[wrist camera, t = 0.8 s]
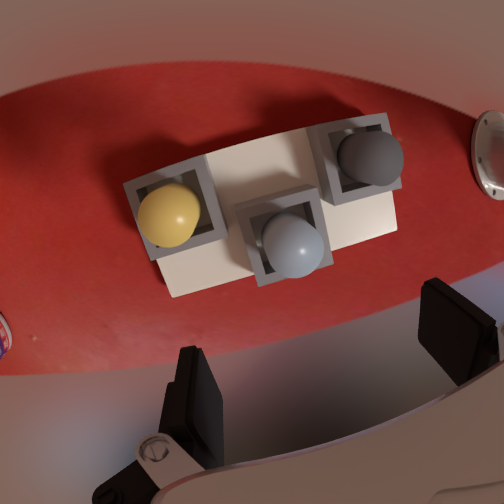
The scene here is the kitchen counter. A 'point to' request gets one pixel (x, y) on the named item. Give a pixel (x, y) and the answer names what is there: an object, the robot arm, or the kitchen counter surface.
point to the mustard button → (169, 214)
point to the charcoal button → (371, 157)
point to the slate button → (292, 245)
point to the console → (267, 203)
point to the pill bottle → (4, 336)
